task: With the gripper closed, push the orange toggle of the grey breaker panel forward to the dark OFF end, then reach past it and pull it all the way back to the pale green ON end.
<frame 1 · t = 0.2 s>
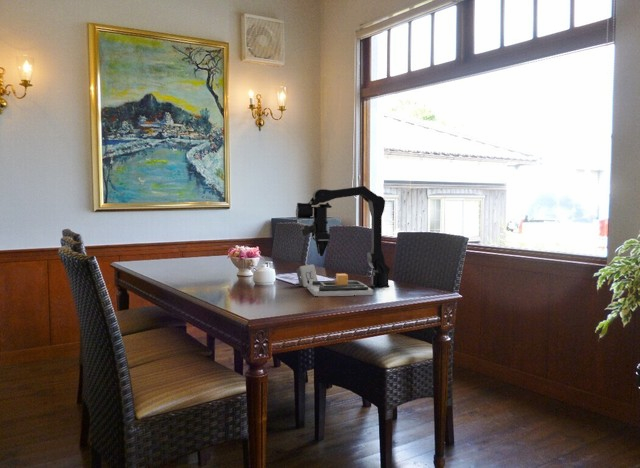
hand: (320, 254, 242), 14 cm above the table, tool pointing down, fingers open, 9 cm apart
electrical switch: (306, 286, 249), on the table
toggle: (341, 280, 234), point 5 cm above the table, slide at 5.0 cm
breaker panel: (339, 291, 234), on the table
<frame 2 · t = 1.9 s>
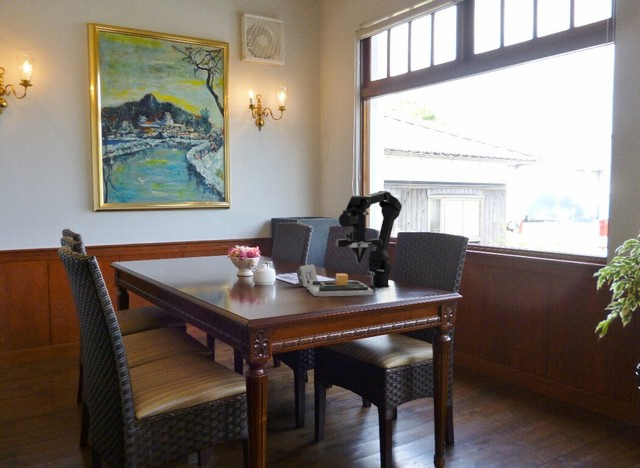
hand: (358, 263, 235), 12 cm above the table, tool pointing down, fingers closed
nothing on the table moved.
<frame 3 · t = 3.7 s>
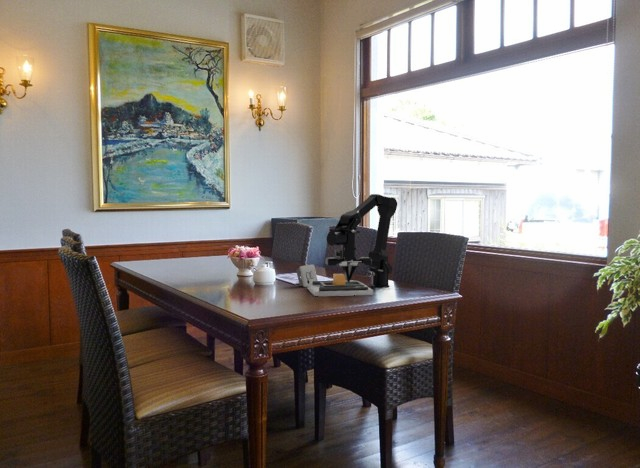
hand: (348, 281, 234), 4 cm above the table, tool pointing down, fingers closed
toggle: (339, 280, 234), point 5 cm above the table, slide at 6.2 cm, touching gripper
everything else where it was.
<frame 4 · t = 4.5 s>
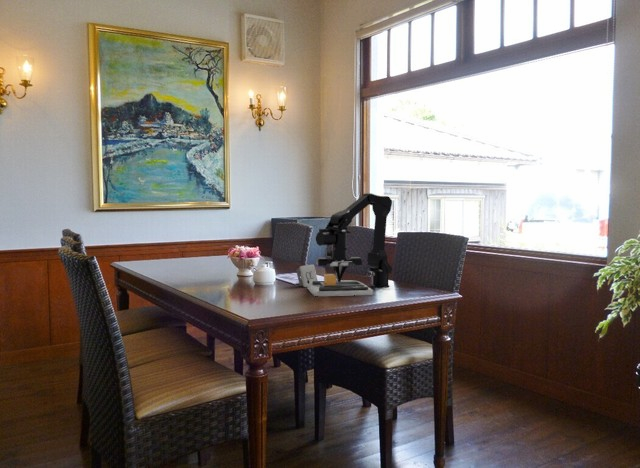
hand: (339, 282, 234), 4 cm above the table, tool pointing down, fingers closed
toggle: (330, 280, 233), point 5 cm above the table, slide at 10.1 cm, touching gripper
everything else where it was.
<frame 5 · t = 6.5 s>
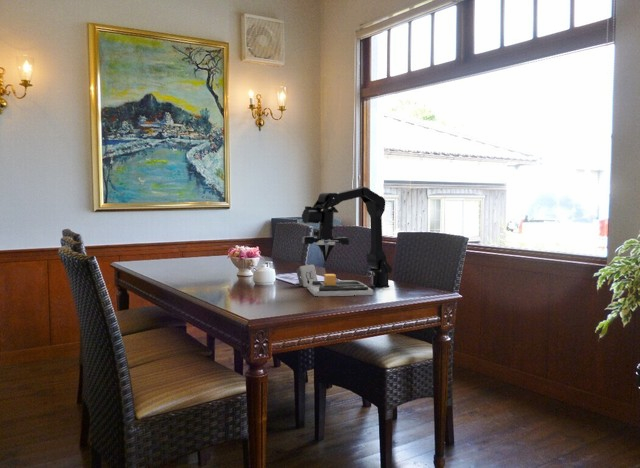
hand: (325, 261, 232), 13 cm above the table, tool pointing down, fingers closed
toggle: (330, 280, 233), point 5 cm above the table, slide at 10.0 cm
everything else where it was.
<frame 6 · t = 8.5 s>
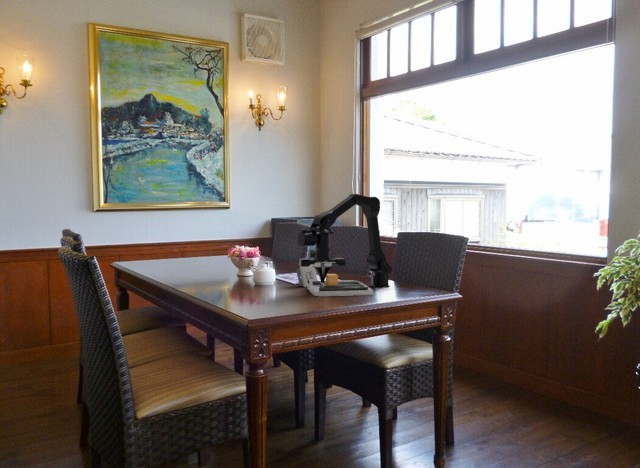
hand: (322, 282, 233), 4 cm above the table, tool pointing down, fingers closed
toggle: (331, 280, 233), point 5 cm above the table, slide at 9.3 cm, touching gripper
everything else where it was.
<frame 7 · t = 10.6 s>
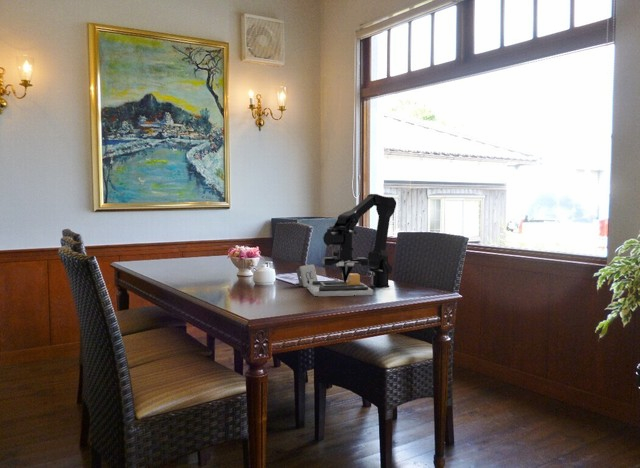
hand: (344, 282, 234), 4 cm above the table, tool pointing down, fingers closed
toggle: (353, 280, 235), point 5 cm above the table, slide at -0.1 cm, touching gripper
everything else where it was.
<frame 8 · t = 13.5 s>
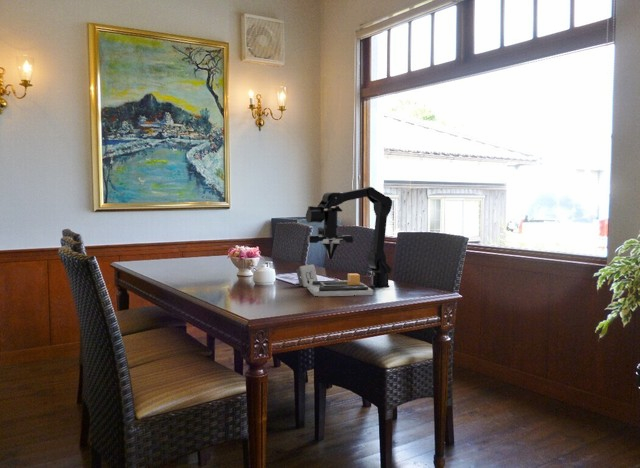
hand: (330, 259, 238), 13 cm above the table, tool pointing down, fingers closed
toggle: (353, 280, 235), point 5 cm above the table, slide at 0.0 cm
everything else where it was.
at the end: toggle slide at 0.0 cm; toggle touching nothing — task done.
